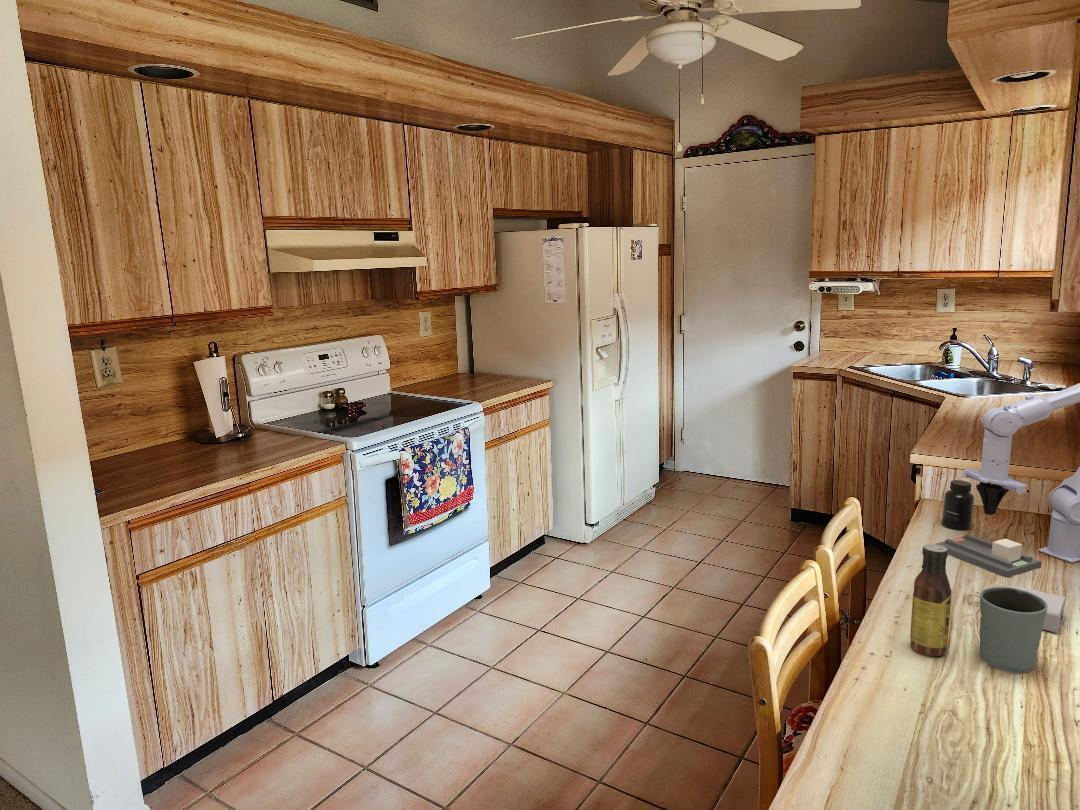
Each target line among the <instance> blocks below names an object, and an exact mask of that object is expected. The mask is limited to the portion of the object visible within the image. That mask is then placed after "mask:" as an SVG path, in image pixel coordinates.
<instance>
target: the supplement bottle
mask: <svg viewBox="0 0 1080 810" xmlns="http://www.w3.org/2000/svg"><path fill="white" fill-rule="evenodd" d="M971 491H972V483H971V482H969V481H966V480H963V479H962V480H961V479H960V480H959V479H954V480H951V481H950V485H949V489H948V490H947V491H946V492H945V493H944V499H943V505H942V506H943V508H942V515H941V516H942V517H941V524H942V526H944V527H945V528H946V529H947V528H948V529H951V530H955V531H967V530H970V528H972V523H973V522H972V521H973V514H974V513H973V512H974V505H975V496H974V494H973V493H971Z"/></svg>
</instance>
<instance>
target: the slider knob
mask: <svg viewBox="0 0 1080 810" xmlns="http://www.w3.org/2000/svg"><path fill="white" fill-rule="evenodd" d="M992 543H993V544H992V553H991V555H993V556H996V557H999V558H1001V559H1004V560H1006V561H1009V562H1012V561H1016V560H1019V559H1021V553H1022V549H1023V544H1022V543H1020V542H1016V541H1013V540H1010V539H1008V538H1002V539H999V540H994V541H992Z"/></svg>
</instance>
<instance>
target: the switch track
mask: <svg viewBox="0 0 1080 810" xmlns="http://www.w3.org/2000/svg"><path fill="white" fill-rule="evenodd" d="M935 544H936V545H941V546H944V547H946V548H947V550H948V556H951V557H953V558H956V559H959V560H961V561H963V562H965V563H969V564H971V565H974V566H976V567H979V568H981V569H984V570H986V571H989V572H990V573H993V572H994V573H993V574H996V575H998V574H999V575H998V576H1001V575H1002V576H1001V577H1003V576H1004V577H1003V578H1006V577H1007V578H1010V577H1014V576H1016V575H1021V574H1024V573H1027V572H1030V571H1033V570H1036V569H1040V568H1042V561H1043V560H1040V559H1038V558H1037V559H1036V558H1034V557H1032V556H1030V555H1027V554H1025V553H1022V552H1021V559H1019V560H1016V561H1012V562H1009V561H1006V560H1004V559H1001V558H999V557H996V556H993V555H991V553H992V544H993V541H989V540H986V539H983V538H981V537H978V536H974V535H971V534H969V533H965V534H964V535H963V536H960V537H957V538H952V539H951V538H947V539H945V540H944V541H940V542H937V543H935ZM1023 572H1024V573H1023ZM1013 575H1014V576H1013Z"/></svg>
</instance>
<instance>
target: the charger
mask: <svg viewBox="0 0 1080 810" xmlns="http://www.w3.org/2000/svg"><path fill="white" fill-rule="evenodd" d="M1009 587H1011V588H1017V589H1021V590H1025V591H1028V592H1030V593H1033V594H1035V595H1037V596H1039V597H1041V598H1042V599H1043V600H1044V601H1045V602H1046V603H1047V605H1048V608H1047V612H1046V616H1045V620H1044V623H1043V628H1042V631H1047V632H1052V633H1054V634H1058V632H1059V629H1060V628H1061V627H1060V626H1061V624H1062V621H1063V618H1064V614H1065V613H1064V612H1065V605H1066V604H1065V603H1066V596H1062V595H1056V594H1053V593H1048V592H1044V591H1040V590H1036V589H1031V588H1027V587H1022V586H1018V585H1010V586H1009ZM980 593H981V591H978V590H976V591H975V593H974V594H973V596H974V597H977V598H980Z"/></svg>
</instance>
